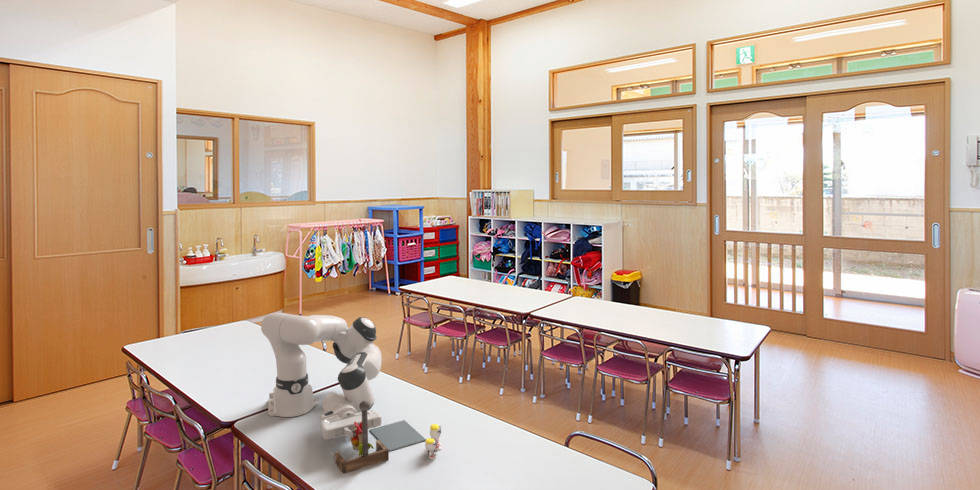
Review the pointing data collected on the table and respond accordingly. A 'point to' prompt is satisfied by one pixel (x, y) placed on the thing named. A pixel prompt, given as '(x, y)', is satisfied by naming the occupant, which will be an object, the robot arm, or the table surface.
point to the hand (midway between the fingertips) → (359, 433)
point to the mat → (397, 435)
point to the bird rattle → (358, 439)
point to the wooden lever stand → (367, 458)
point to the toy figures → (433, 441)
